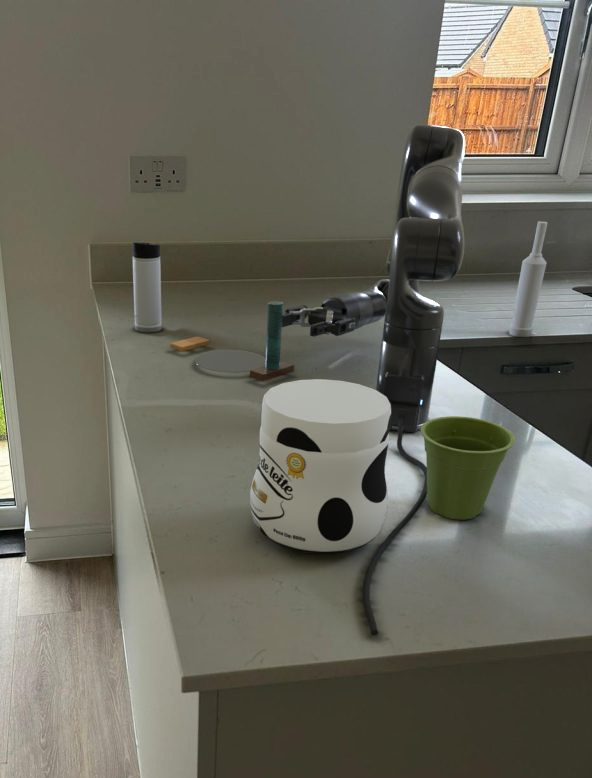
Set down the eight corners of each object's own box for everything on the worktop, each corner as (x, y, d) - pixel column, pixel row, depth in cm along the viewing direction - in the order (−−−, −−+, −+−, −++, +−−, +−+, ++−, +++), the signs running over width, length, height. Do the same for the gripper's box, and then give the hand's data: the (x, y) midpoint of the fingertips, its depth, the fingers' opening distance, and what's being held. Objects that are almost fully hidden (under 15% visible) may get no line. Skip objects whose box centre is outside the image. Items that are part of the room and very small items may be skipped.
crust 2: (196, 352, 169) (196, 343, 168) (184, 348, 172) (184, 339, 171) (209, 349, 172) (210, 340, 171) (197, 345, 174) (197, 336, 173)
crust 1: (182, 356, 167) (182, 347, 166) (170, 352, 169) (169, 343, 168) (196, 352, 169) (196, 343, 168) (183, 348, 172) (183, 339, 171)
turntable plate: (257, 381, 153) (257, 375, 152) (184, 373, 157) (184, 367, 156) (274, 359, 166) (274, 353, 165) (206, 352, 170) (206, 346, 169)
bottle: (533, 338, 182) (557, 224, 170) (509, 336, 182) (532, 223, 170) (529, 332, 186) (553, 221, 174) (506, 330, 187) (528, 220, 175)
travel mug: (129, 330, 183) (125, 241, 174) (144, 324, 189) (141, 237, 179) (152, 334, 181) (149, 244, 171) (166, 327, 186) (165, 240, 176)
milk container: (222, 535, 100) (225, 403, 92) (294, 488, 112) (303, 367, 104) (340, 582, 91) (356, 440, 83) (406, 525, 103) (425, 396, 95)
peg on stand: (280, 372, 158) (284, 297, 151) (293, 376, 156) (298, 300, 148) (249, 382, 152) (252, 305, 145) (262, 386, 150) (266, 308, 143)
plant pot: (393, 496, 111) (403, 422, 105) (462, 484, 114) (476, 411, 109) (443, 536, 101) (457, 457, 95) (517, 521, 105) (535, 443, 99)
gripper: (321, 288, 165) (269, 300, 156) (377, 300, 156) (324, 314, 147) (319, 323, 169) (267, 337, 159) (372, 337, 160) (321, 353, 150)
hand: (295, 326), depth 153 cm, fingers open, 8 cm apart
